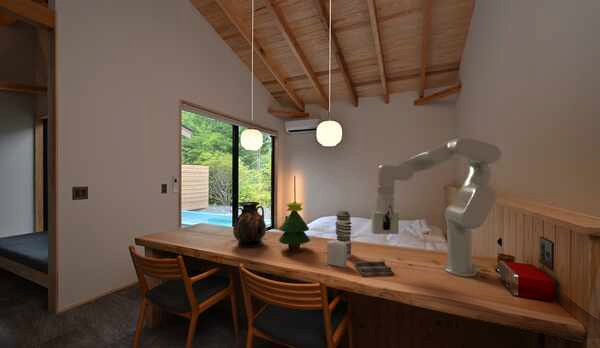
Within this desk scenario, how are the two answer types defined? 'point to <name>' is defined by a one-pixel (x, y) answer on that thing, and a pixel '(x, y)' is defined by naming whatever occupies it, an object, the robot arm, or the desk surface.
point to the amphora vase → (249, 225)
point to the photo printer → (336, 253)
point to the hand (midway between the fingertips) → (384, 228)
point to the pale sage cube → (378, 223)
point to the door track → (373, 269)
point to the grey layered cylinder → (344, 229)
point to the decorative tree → (294, 228)
